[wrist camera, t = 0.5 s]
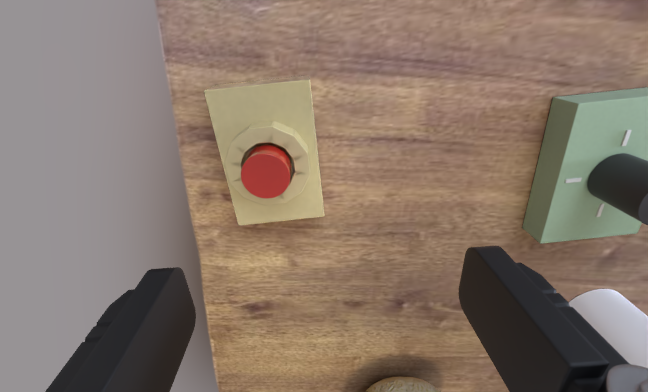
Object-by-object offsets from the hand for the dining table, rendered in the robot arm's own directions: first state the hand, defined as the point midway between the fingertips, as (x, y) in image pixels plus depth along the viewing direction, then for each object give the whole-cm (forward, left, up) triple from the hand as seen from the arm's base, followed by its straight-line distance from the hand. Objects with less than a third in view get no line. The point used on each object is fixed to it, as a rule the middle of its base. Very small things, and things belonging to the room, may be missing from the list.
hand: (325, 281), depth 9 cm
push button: (+3, -4, -16) cm, 17 cm away
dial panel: (+8, +27, -21) cm, 35 cm away
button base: (+3, -4, -21) cm, 22 cm away
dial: (+8, +27, -18) cm, 33 cm away
